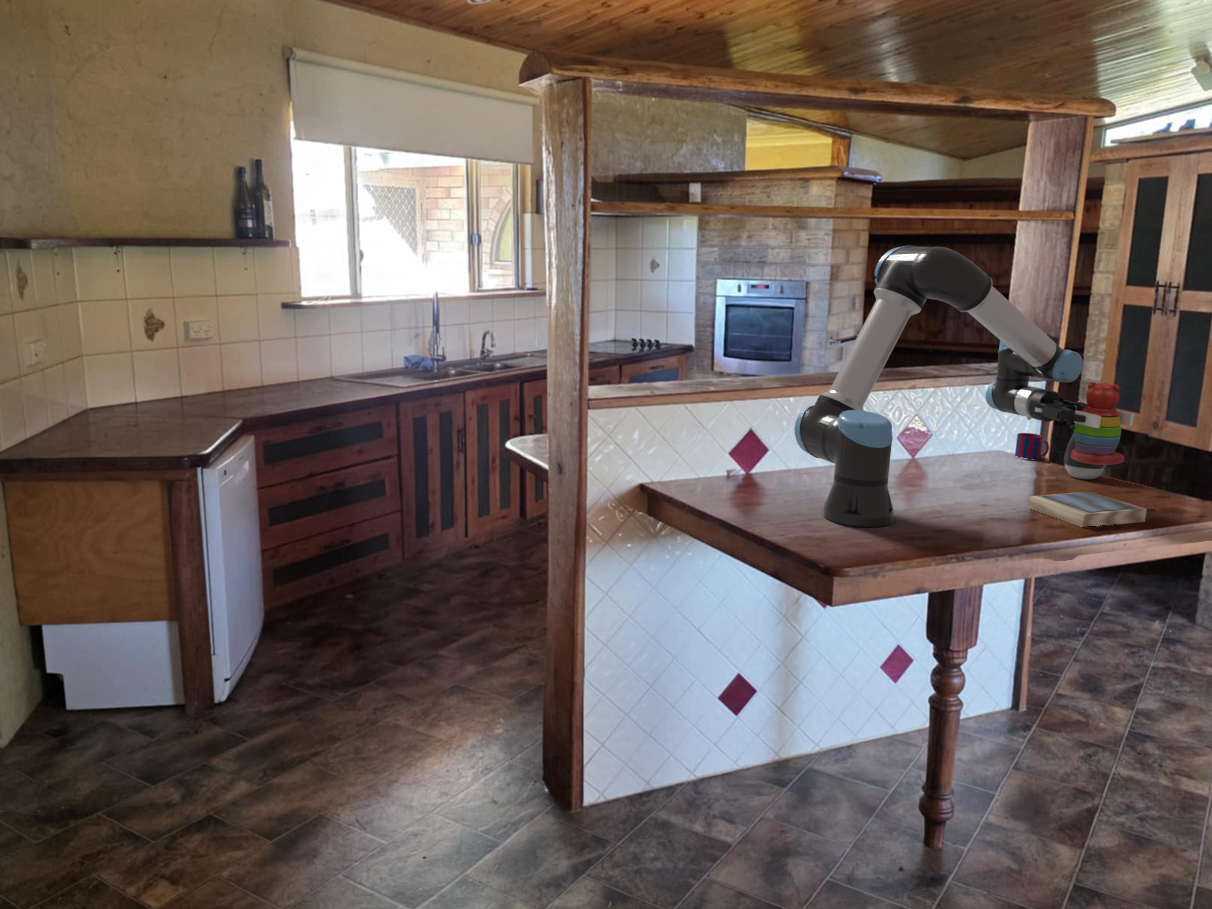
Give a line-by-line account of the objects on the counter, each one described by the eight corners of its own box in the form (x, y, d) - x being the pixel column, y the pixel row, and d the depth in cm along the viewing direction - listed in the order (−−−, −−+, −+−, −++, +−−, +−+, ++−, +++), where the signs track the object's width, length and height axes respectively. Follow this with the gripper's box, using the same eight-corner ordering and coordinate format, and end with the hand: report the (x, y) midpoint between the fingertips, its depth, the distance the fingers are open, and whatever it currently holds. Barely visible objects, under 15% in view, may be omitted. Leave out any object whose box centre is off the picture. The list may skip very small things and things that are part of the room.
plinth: (1082, 527, 210) (1083, 513, 209) (1028, 508, 225) (1030, 495, 224) (1144, 521, 216) (1146, 508, 215) (1088, 503, 231) (1090, 490, 230)
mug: (1028, 454, 284) (1030, 432, 283) (1053, 462, 275) (1056, 439, 274) (1009, 456, 282) (1012, 433, 281) (1034, 463, 273) (1037, 440, 272)
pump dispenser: (1053, 472, 262) (1060, 418, 258) (1089, 472, 263) (1096, 418, 260) (1075, 482, 252) (1082, 425, 249) (1112, 481, 253) (1120, 425, 250)
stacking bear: (1126, 460, 218) (1137, 383, 214) (1113, 468, 211) (1124, 387, 207) (1076, 453, 225) (1085, 378, 221) (1061, 459, 218) (1071, 382, 214)
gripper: (1072, 417, 236) (1150, 435, 216) (1001, 421, 229) (1075, 440, 209) (1076, 387, 235) (1155, 402, 214) (1005, 390, 228) (1079, 406, 207)
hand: (1115, 420), depth 211 cm, fingers closed on stacking bear, 9 cm apart
